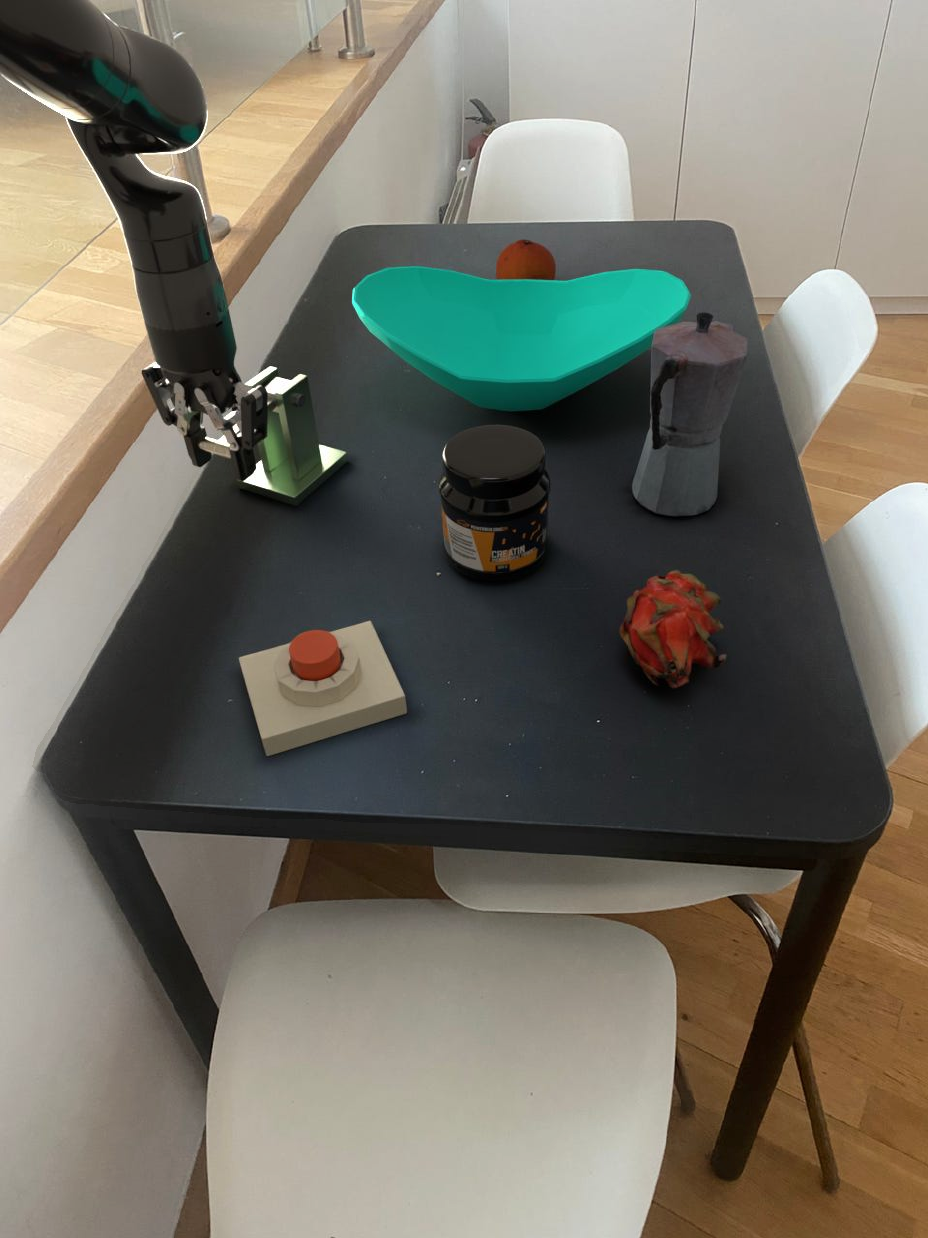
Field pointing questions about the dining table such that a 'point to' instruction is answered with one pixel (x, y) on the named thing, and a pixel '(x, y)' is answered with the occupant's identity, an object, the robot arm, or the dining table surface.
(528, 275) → the fruit
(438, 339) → the table top decor
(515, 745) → the dining table surface
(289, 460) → the switch bracket
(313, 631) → the button
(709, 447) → the moka pot
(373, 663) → the button base
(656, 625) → the dragon fruit
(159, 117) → the robot arm
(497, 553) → the supplement container
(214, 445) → the switch lever
